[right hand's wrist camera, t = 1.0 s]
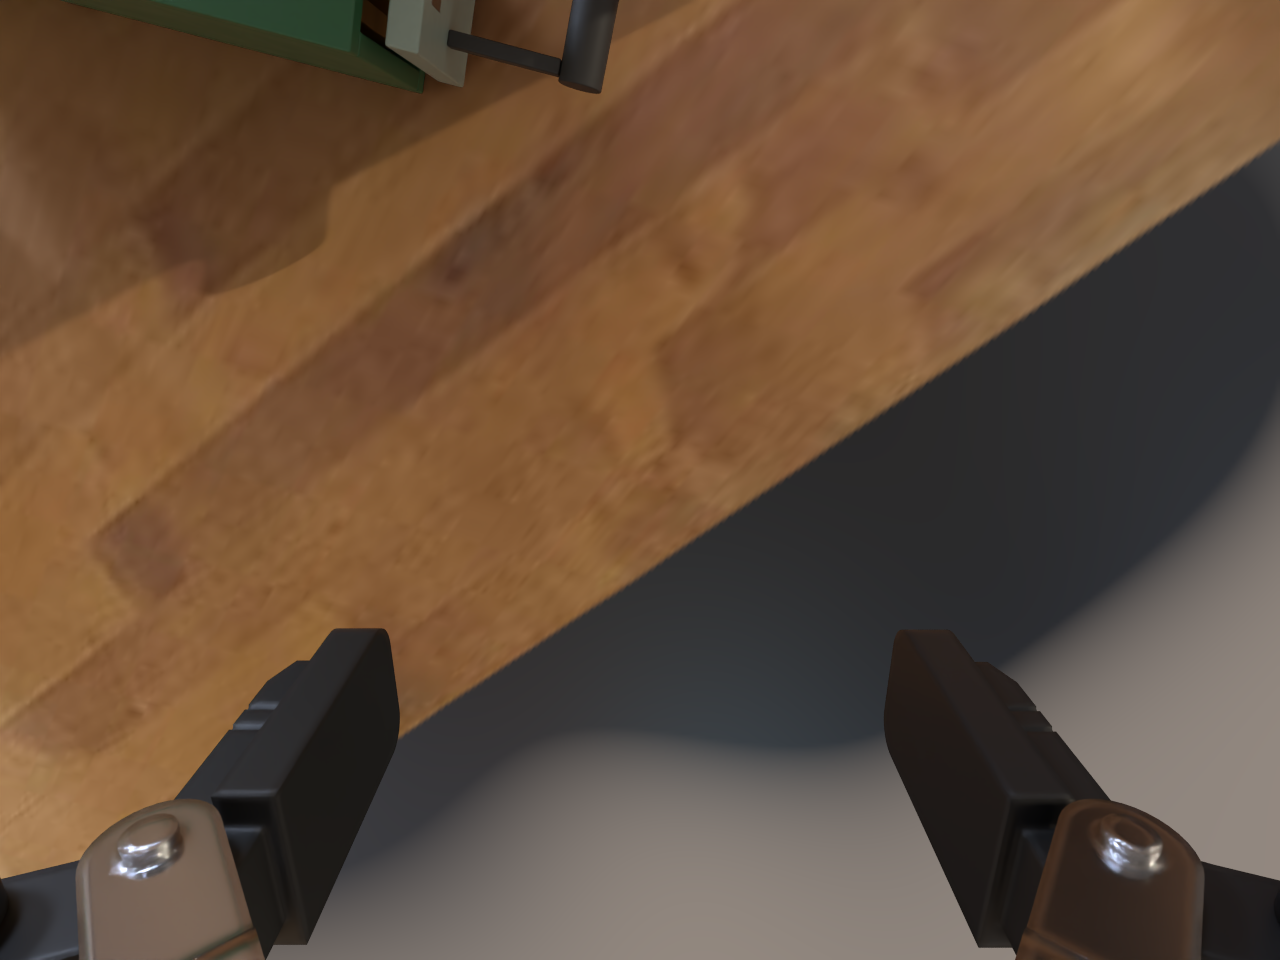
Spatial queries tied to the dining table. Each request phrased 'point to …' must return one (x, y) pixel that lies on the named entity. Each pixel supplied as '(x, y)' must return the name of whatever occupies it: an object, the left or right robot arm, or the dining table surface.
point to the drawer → (441, 39)
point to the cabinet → (280, 32)
